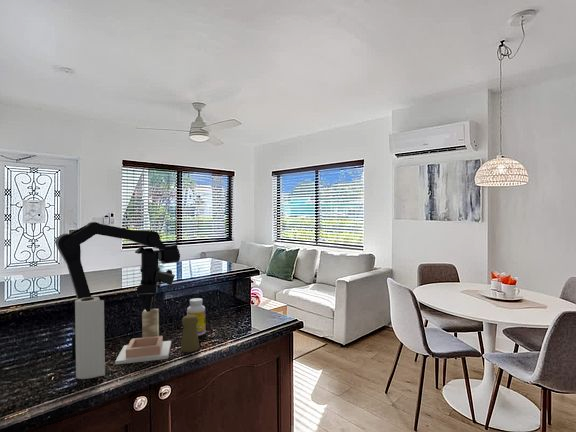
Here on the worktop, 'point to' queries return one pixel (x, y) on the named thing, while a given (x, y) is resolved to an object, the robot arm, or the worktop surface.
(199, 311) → the supplement bottle
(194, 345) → the olive pepper mill
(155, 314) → the maple block
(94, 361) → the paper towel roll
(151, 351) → the pocket plate
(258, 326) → the worktop surface
